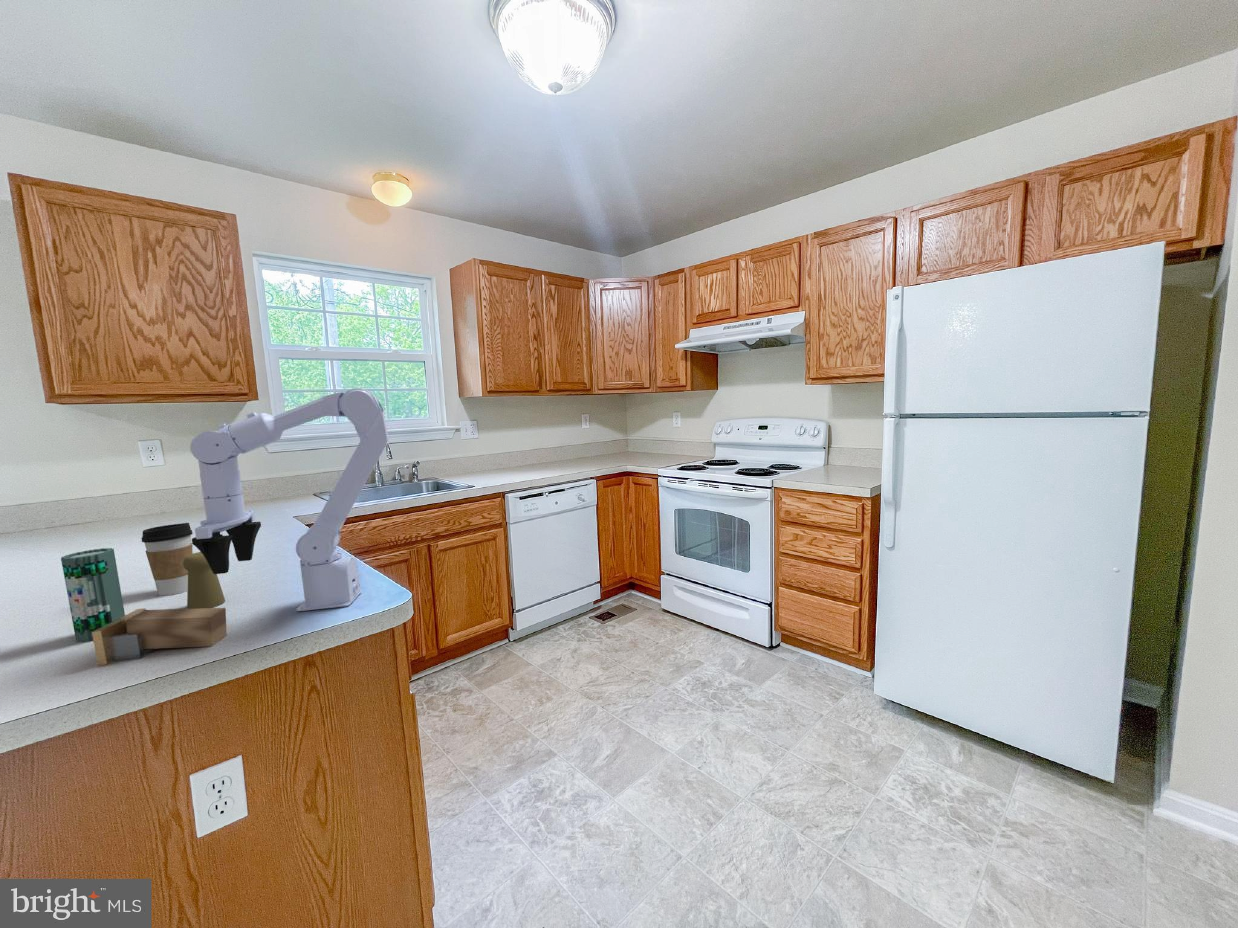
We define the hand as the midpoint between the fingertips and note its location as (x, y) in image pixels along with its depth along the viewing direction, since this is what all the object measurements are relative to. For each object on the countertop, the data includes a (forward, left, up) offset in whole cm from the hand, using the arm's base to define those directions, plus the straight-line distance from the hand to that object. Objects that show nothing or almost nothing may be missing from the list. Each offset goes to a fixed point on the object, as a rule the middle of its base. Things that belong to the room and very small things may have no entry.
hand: (233, 566), depth 92 cm
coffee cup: (+24, -21, -10) cm, 33 cm away
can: (+22, +1, -10) cm, 24 cm away
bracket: (+10, +11, -10) cm, 18 cm away
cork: (+11, -9, -10) cm, 17 cm away
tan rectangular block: (+4, +11, -9) cm, 15 cm away
